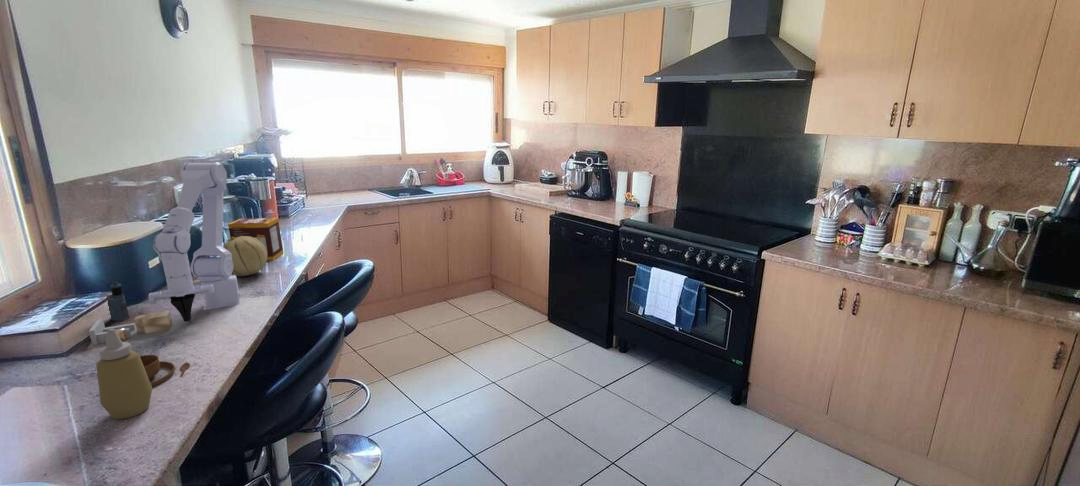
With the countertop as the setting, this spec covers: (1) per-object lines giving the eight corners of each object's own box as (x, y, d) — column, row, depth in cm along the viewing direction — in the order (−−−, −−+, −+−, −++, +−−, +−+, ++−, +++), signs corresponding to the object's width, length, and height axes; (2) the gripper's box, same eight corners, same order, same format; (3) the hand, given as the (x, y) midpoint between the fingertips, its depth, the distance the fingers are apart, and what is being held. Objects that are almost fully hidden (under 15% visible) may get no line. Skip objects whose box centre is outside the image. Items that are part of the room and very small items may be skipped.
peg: (172, 323, 138) (169, 310, 137) (170, 329, 135) (167, 315, 134) (139, 329, 135) (136, 315, 133) (136, 334, 131) (132, 321, 130)
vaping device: (123, 323, 140) (113, 283, 136) (108, 321, 141) (98, 282, 138) (132, 319, 142) (123, 280, 139) (117, 318, 143) (108, 279, 140)
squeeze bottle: (124, 400, 103) (104, 321, 98) (165, 398, 103) (147, 320, 99) (94, 424, 95) (70, 340, 90) (138, 422, 96) (117, 338, 91)
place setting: (82, 404, 102) (75, 379, 101) (114, 361, 120) (109, 339, 118) (183, 385, 109) (178, 361, 108) (199, 347, 127) (195, 326, 125)
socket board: (190, 317, 143) (187, 303, 142) (185, 333, 133) (182, 318, 132) (100, 332, 134) (96, 317, 132) (87, 351, 124) (82, 334, 122)
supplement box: (245, 254, 206) (239, 218, 202) (283, 253, 208) (278, 217, 203) (233, 261, 196) (226, 223, 192) (273, 260, 198) (268, 223, 193)
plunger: (128, 334, 131) (126, 326, 130) (125, 340, 128) (123, 332, 127) (116, 336, 130) (114, 328, 129) (112, 342, 127) (110, 334, 126)
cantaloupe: (277, 272, 183) (271, 234, 179) (236, 284, 171) (229, 243, 167) (256, 266, 190) (250, 228, 186) (215, 276, 178) (208, 237, 174)
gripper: (142, 283, 128) (153, 331, 131) (208, 274, 134) (217, 320, 138) (147, 275, 133) (157, 321, 137) (210, 267, 140) (218, 311, 144)
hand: (187, 320), depth 138 cm, fingers closed
